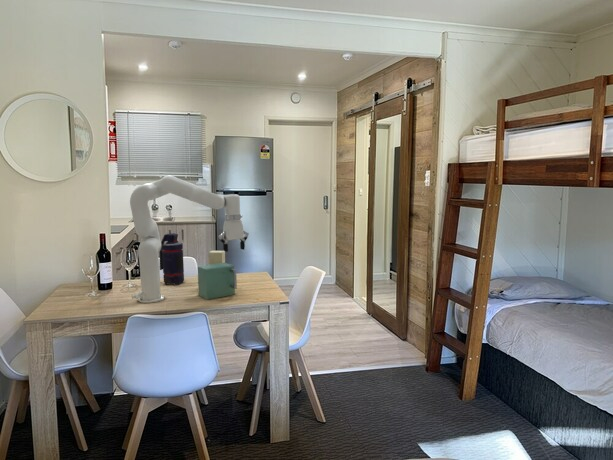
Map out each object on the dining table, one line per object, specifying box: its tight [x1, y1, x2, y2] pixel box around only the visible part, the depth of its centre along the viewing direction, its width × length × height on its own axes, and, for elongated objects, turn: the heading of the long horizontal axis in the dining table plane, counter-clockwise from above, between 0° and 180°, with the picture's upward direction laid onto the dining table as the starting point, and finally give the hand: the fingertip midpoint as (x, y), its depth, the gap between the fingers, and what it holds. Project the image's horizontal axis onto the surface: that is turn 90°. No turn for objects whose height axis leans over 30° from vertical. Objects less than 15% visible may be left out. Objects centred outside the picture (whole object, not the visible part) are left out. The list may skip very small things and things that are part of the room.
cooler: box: [197, 262, 234, 300], centre depth 239 cm, size 10×16×16 cm, turn 126°
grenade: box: [158, 232, 185, 286], centre depth 267 cm, size 14×12×30 cm
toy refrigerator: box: [207, 250, 226, 265], centre depth 256 cm, size 8×7×21 cm
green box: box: [206, 265, 238, 300], centre depth 233 cm, size 6×16×16 cm, turn 126°
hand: (234, 250), depth 235 cm, fingers open, 9 cm apart
